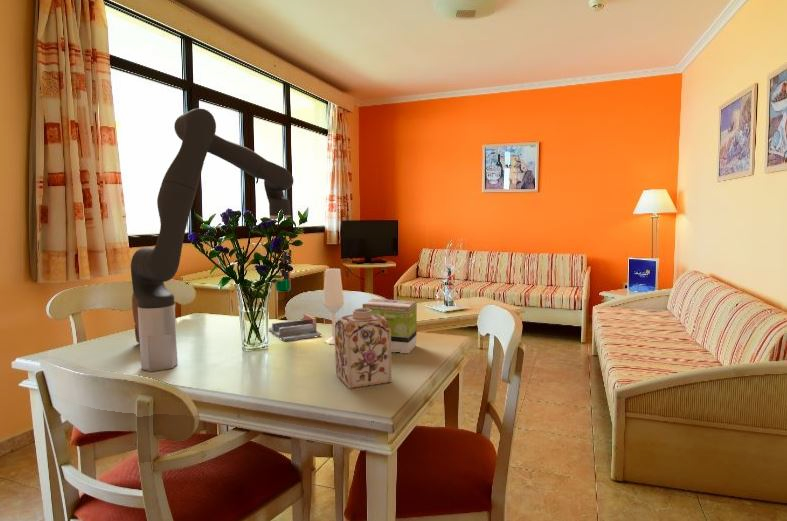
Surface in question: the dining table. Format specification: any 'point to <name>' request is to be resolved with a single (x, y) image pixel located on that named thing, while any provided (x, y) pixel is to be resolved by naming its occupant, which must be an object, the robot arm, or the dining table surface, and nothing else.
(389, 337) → the decorative jar
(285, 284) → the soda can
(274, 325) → the coupler bracket
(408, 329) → the tea box
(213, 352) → the dining table surface
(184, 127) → the robot arm
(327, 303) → the champagne flute
